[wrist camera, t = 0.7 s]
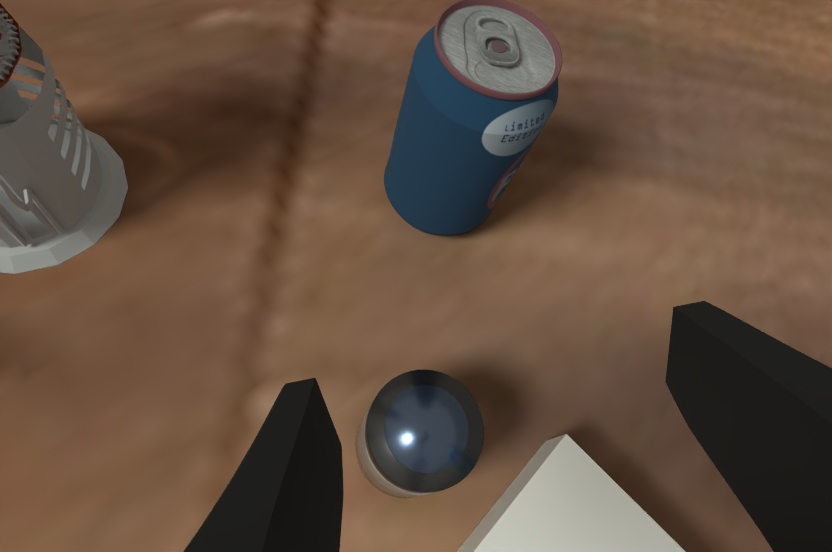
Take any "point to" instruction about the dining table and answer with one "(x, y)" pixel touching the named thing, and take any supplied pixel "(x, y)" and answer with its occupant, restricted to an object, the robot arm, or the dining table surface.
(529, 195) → the dining table surface
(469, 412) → the lens
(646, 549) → the camera body
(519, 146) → the soda can
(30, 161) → the french press
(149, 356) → the dining table surface
